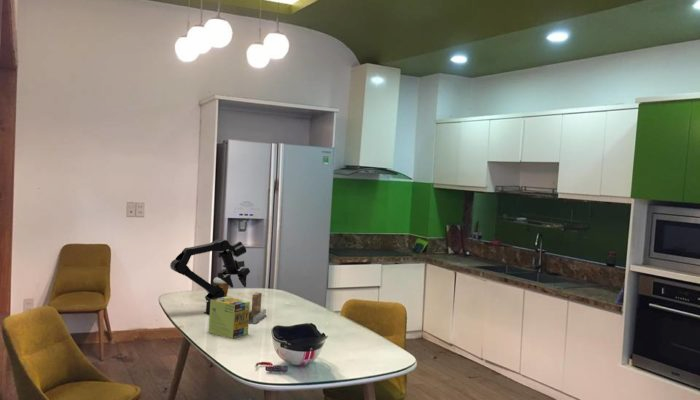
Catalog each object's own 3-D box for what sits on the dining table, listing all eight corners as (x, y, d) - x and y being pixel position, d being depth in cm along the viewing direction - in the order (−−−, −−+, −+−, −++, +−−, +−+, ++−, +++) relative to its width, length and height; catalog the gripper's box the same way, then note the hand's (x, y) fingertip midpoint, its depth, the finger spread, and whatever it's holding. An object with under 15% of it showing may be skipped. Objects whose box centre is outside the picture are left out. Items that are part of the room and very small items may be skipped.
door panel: (251, 317, 297) (252, 294, 296) (254, 315, 303) (256, 292, 302) (256, 318, 296) (258, 295, 296) (260, 315, 302) (261, 292, 302)
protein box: (233, 339, 260) (234, 304, 259) (208, 332, 268) (209, 299, 267) (248, 334, 269) (250, 301, 268) (224, 328, 277) (225, 296, 276)
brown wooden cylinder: (226, 301, 333) (228, 280, 333) (210, 300, 333) (211, 279, 333) (230, 297, 342) (231, 277, 342) (214, 296, 343) (215, 276, 342)
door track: (241, 322, 288) (241, 315, 288) (252, 314, 306) (252, 307, 306) (255, 324, 287) (256, 317, 287) (266, 316, 305) (266, 309, 305)
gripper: (251, 253, 307) (261, 279, 312) (225, 255, 317) (235, 280, 322) (238, 263, 299) (248, 289, 303) (212, 264, 308) (222, 290, 313)
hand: (239, 287), depth 310 cm, fingers open, 9 cm apart
